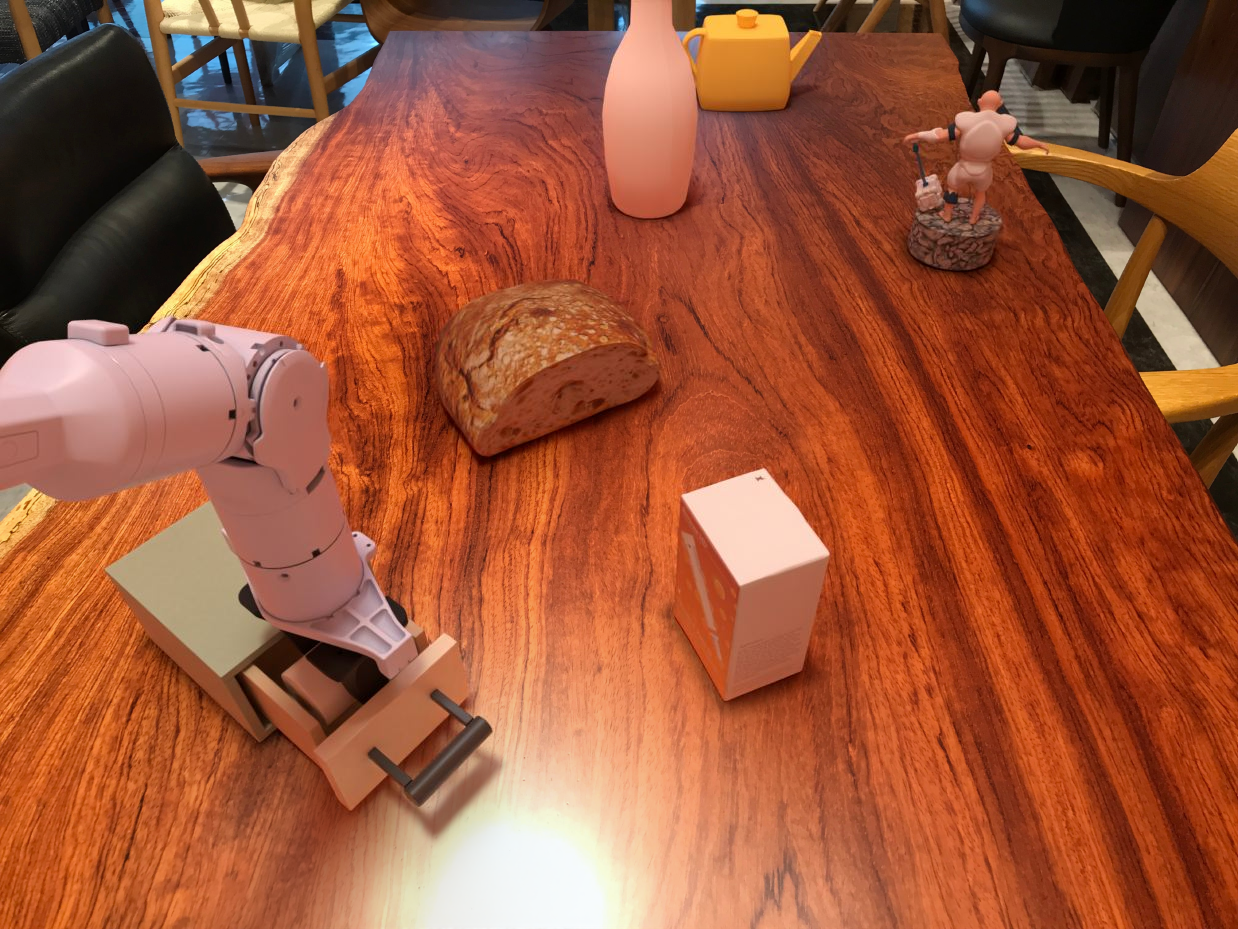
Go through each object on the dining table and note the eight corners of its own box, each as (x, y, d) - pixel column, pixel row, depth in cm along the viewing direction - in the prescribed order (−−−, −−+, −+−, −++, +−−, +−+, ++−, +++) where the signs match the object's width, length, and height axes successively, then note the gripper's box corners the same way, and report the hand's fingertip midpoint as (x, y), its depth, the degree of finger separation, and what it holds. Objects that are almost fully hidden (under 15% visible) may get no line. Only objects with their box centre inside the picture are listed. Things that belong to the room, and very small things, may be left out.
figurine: (1012, 238, 102) (1065, 79, 89) (1019, 278, 96) (1077, 114, 83) (882, 226, 104) (916, 70, 92) (882, 264, 98) (918, 103, 86)
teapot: (807, 79, 137) (818, -4, 128) (819, 112, 128) (832, 25, 119) (678, 80, 137) (681, -2, 129) (681, 113, 128) (684, 27, 120)
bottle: (669, 232, 104) (677, -2, 86) (587, 211, 108) (578, -17, 90) (708, 192, 111) (722, -32, 93) (629, 173, 115) (629, -45, 97)
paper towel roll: (364, 619, 59) (408, 662, 58) (281, 688, 55) (326, 736, 54) (366, 593, 55) (412, 639, 55) (277, 666, 52) (325, 716, 51)
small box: (671, 615, 65) (677, 492, 55) (747, 587, 66) (765, 464, 57) (723, 705, 59) (739, 586, 50) (804, 673, 61) (834, 552, 52)
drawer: (522, 734, 57) (512, 682, 53) (402, 860, 51) (381, 814, 47) (351, 602, 65) (331, 547, 60) (231, 699, 59) (199, 647, 55)
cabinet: (393, 629, 64) (370, 559, 59) (260, 743, 58) (220, 677, 52) (280, 543, 70) (250, 472, 65) (149, 637, 64) (103, 569, 58)
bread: (472, 471, 76) (455, 380, 69) (413, 355, 87) (394, 267, 80) (682, 403, 82) (687, 313, 75) (601, 303, 94) (598, 217, 87)
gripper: (442, 545, 45) (475, 689, 54) (269, 428, 51) (326, 575, 61) (330, 637, 41) (387, 774, 50) (159, 498, 47) (238, 643, 57)
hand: (348, 670), depth 55 cm, fingers closed on paper towel roll, 4 cm apart
